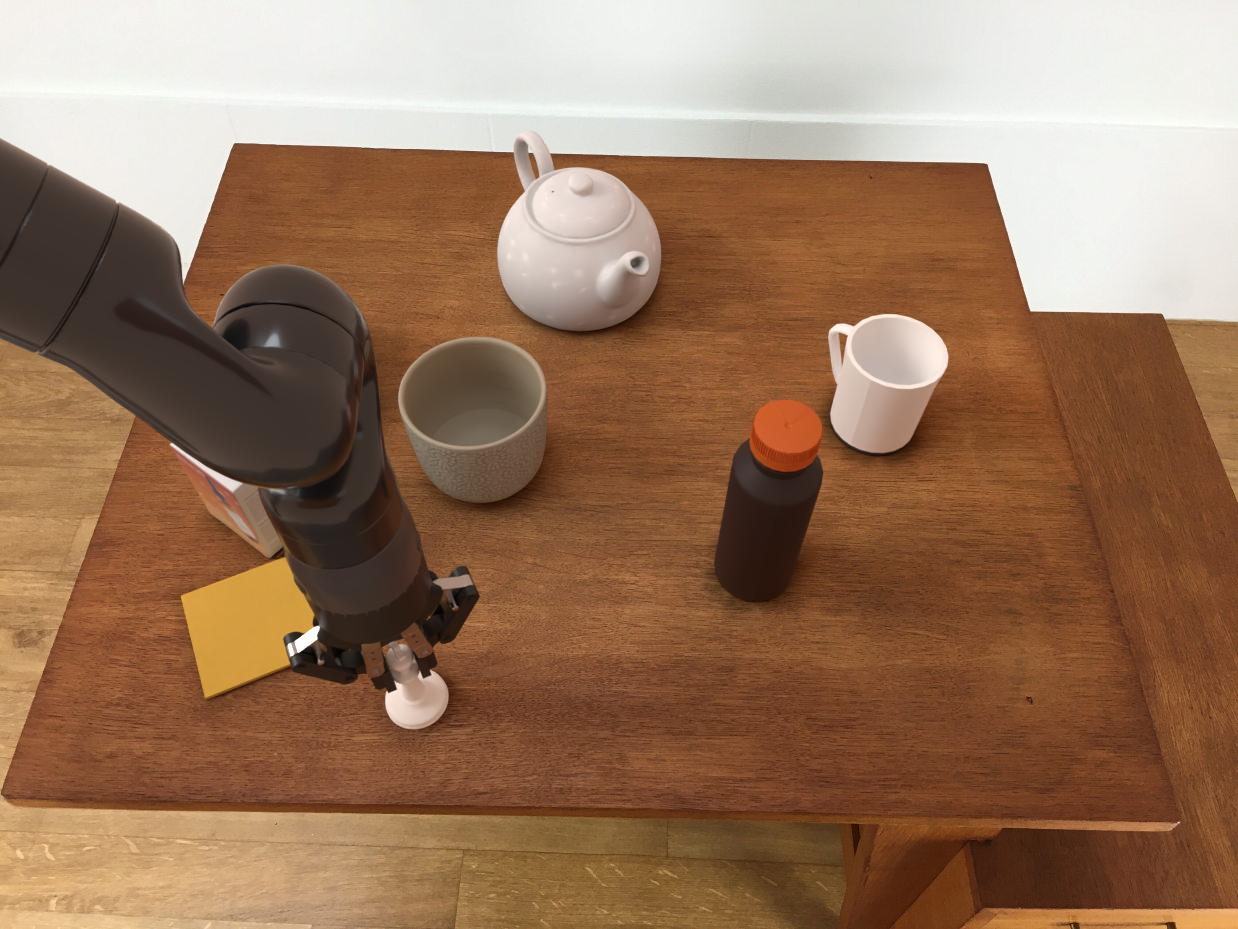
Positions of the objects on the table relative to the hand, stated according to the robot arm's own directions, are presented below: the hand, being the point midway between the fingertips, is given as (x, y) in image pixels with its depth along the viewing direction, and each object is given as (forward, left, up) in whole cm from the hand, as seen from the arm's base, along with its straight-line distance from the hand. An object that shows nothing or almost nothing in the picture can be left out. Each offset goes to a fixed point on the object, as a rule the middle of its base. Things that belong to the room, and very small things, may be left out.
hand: (405, 673), depth 72 cm
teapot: (+31, +38, -5) cm, 49 cm away
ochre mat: (-9, +12, -5) cm, 16 cm away
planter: (+13, +19, -5) cm, 24 cm away
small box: (-7, +22, -5) cm, 24 cm away
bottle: (+30, -1, -5) cm, 31 cm away
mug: (+48, +9, -5) cm, 49 cm away
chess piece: (0, 0, -5) cm, 5 cm away
